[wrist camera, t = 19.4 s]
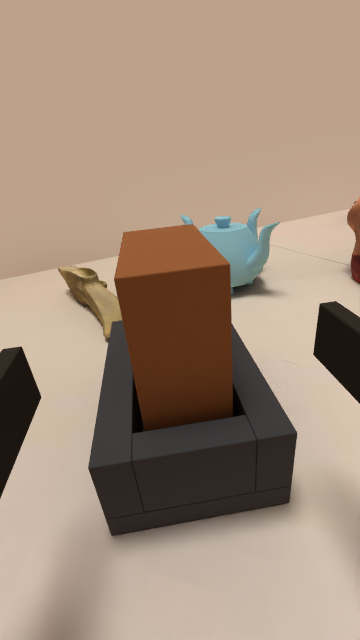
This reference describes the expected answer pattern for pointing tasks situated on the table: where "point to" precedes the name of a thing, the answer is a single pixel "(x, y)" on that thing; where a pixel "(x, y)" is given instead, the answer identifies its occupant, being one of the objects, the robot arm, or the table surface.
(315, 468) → the table surface
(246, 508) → the dark grey rectangular box
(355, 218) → the pig shaped mug
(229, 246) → the teapot
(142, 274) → the brown rectangular block
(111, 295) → the tool
